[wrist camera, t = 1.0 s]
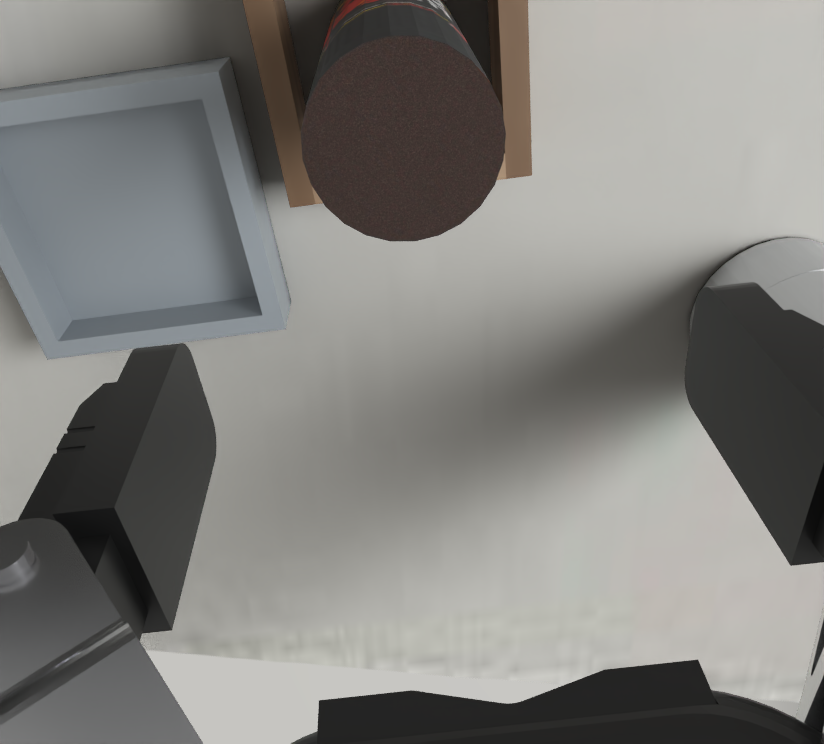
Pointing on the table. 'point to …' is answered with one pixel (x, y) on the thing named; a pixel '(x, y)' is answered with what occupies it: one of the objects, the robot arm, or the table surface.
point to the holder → (289, 106)
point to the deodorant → (401, 121)
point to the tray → (136, 211)
